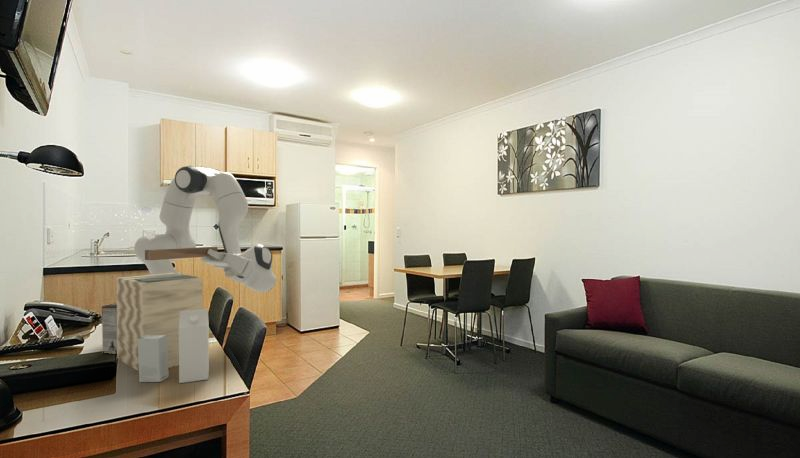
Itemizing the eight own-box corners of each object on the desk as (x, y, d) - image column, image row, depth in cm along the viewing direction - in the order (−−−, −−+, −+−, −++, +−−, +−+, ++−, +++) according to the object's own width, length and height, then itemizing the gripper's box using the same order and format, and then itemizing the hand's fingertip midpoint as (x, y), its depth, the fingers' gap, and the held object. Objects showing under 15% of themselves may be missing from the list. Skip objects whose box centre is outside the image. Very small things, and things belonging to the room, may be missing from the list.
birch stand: (117, 358, 133) (116, 276, 133) (173, 346, 146) (172, 271, 146) (143, 374, 119) (142, 282, 119) (202, 359, 132) (202, 276, 132)
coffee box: (125, 346, 147) (124, 300, 147) (140, 347, 145) (140, 301, 145) (101, 354, 138) (101, 305, 138) (117, 355, 136) (117, 306, 136)
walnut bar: (144, 259, 128) (144, 249, 128) (211, 255, 144) (211, 246, 144) (150, 260, 125) (150, 250, 125) (217, 255, 142) (217, 247, 142)
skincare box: (169, 377, 117) (168, 334, 117) (159, 383, 112) (159, 338, 112) (147, 377, 117) (147, 334, 117) (137, 383, 112) (136, 338, 112)
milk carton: (181, 375, 118) (180, 308, 118) (208, 371, 121) (208, 306, 121) (179, 383, 112) (178, 313, 111) (208, 379, 114) (207, 311, 114)
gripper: (226, 258, 157) (194, 241, 148) (256, 261, 144) (223, 242, 135) (218, 273, 155) (185, 257, 145) (248, 278, 142) (213, 260, 133)
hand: (203, 250), depth 140 cm, fingers closed on walnut bar, 4 cm apart
